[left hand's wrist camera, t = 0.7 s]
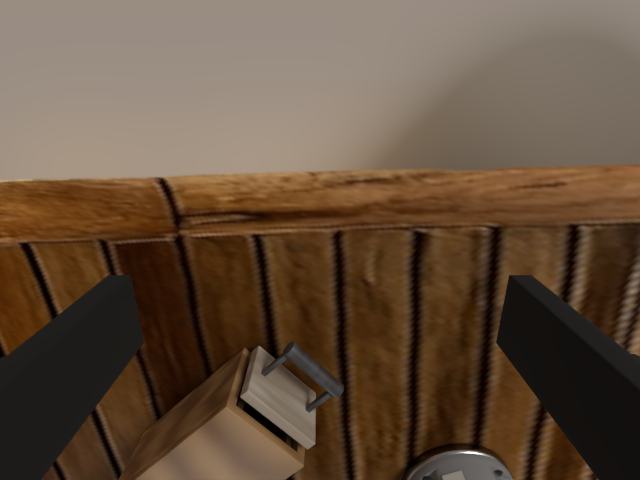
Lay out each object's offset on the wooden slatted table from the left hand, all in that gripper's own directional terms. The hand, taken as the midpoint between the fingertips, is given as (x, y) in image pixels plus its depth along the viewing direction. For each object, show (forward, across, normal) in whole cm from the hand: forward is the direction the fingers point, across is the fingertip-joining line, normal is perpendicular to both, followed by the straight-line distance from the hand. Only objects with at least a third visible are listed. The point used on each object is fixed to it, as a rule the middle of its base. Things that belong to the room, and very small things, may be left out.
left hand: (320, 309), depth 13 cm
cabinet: (+26, +13, +32) cm, 43 cm away
